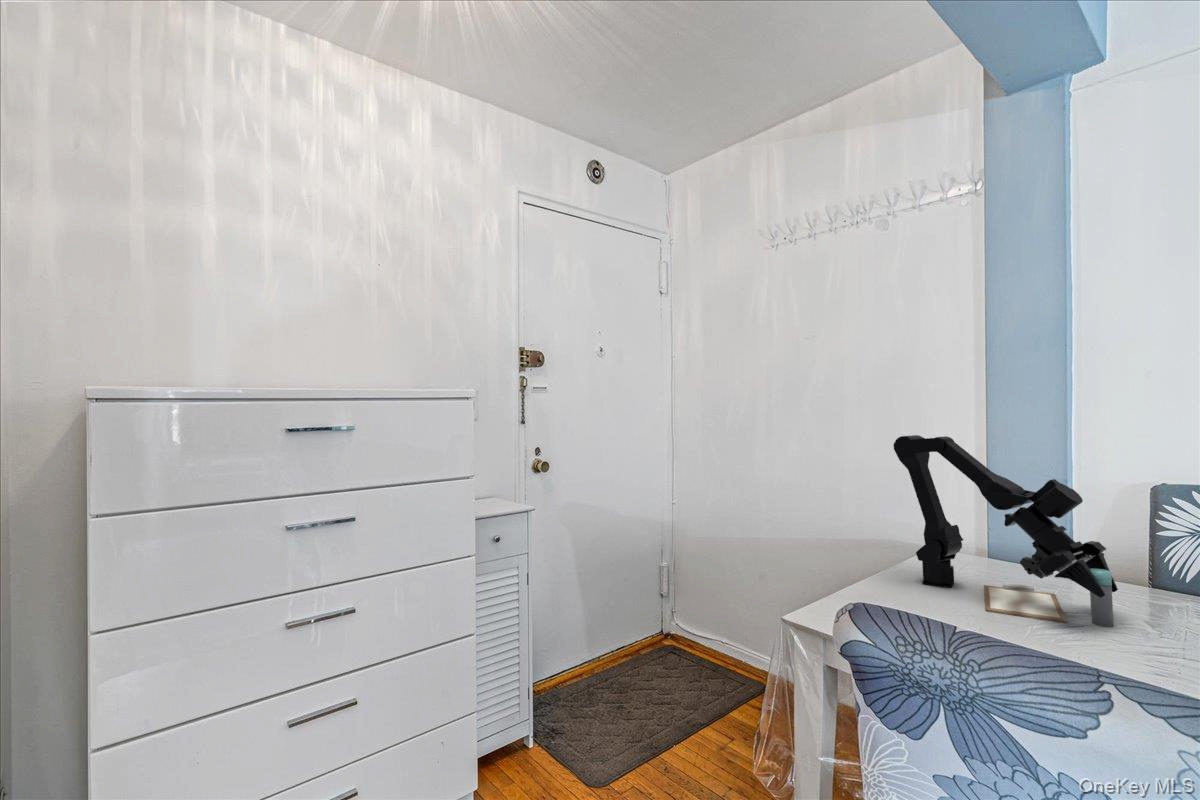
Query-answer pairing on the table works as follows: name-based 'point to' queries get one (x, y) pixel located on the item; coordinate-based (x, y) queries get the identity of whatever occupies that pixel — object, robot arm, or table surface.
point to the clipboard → (1023, 602)
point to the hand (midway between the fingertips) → (1109, 593)
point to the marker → (1102, 600)
